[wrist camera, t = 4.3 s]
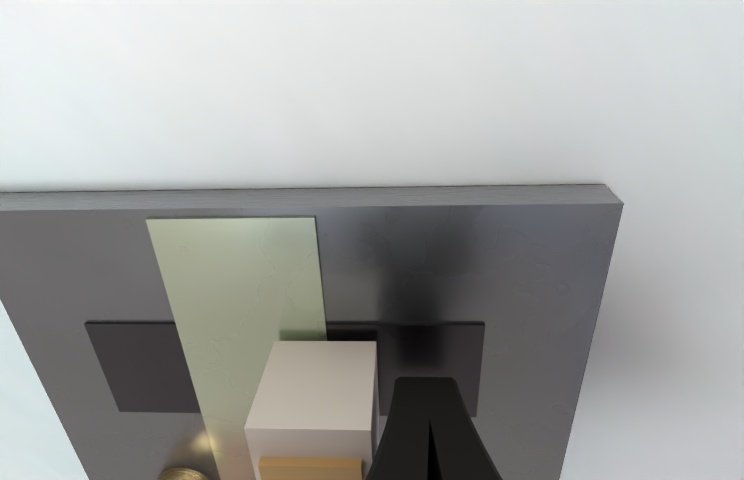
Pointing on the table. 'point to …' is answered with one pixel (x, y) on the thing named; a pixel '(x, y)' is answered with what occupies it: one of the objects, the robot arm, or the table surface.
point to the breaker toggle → (315, 412)
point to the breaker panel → (302, 309)
